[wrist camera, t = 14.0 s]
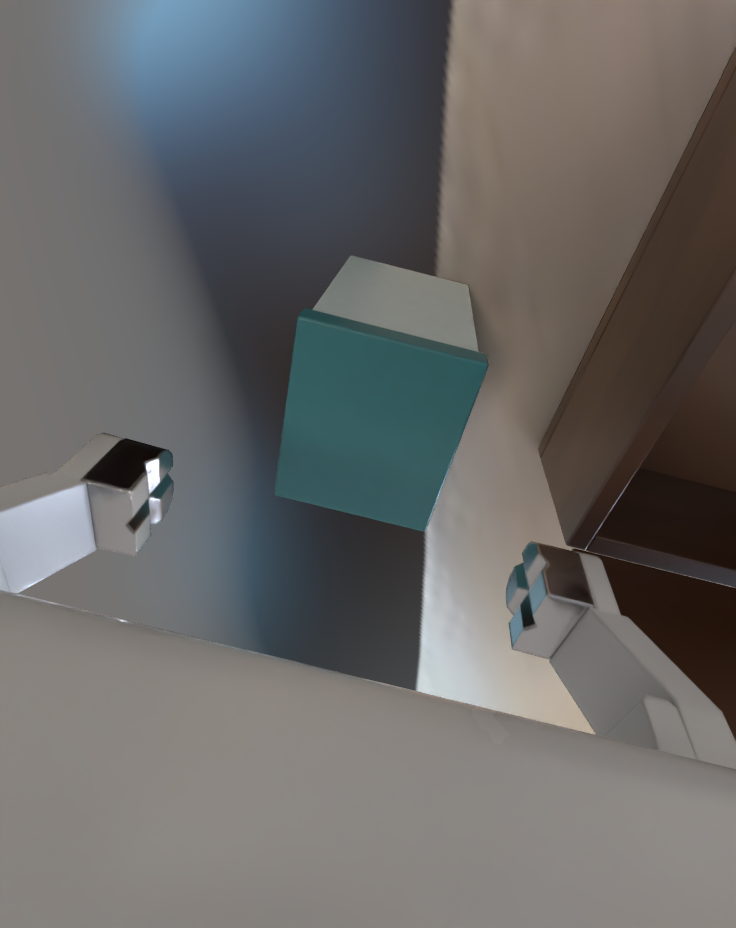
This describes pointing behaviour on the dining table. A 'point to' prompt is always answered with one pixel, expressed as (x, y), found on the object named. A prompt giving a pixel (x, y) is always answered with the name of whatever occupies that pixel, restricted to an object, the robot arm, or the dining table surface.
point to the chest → (662, 382)
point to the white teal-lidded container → (379, 393)
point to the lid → (683, 624)
